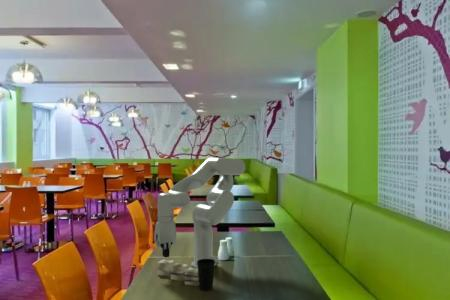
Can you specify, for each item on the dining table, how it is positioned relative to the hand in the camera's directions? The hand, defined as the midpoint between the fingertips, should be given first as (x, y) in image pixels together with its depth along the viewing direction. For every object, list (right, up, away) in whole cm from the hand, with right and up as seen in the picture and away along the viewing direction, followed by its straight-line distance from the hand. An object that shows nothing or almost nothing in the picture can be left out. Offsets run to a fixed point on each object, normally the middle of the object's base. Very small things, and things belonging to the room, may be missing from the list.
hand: (166, 256), depth 204 cm
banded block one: (+7, -9, -7) cm, 13 cm away
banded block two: (+14, -9, -13) cm, 21 cm away
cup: (+20, -9, -21) cm, 30 cm away
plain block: (0, -8, 0) cm, 8 cm away
